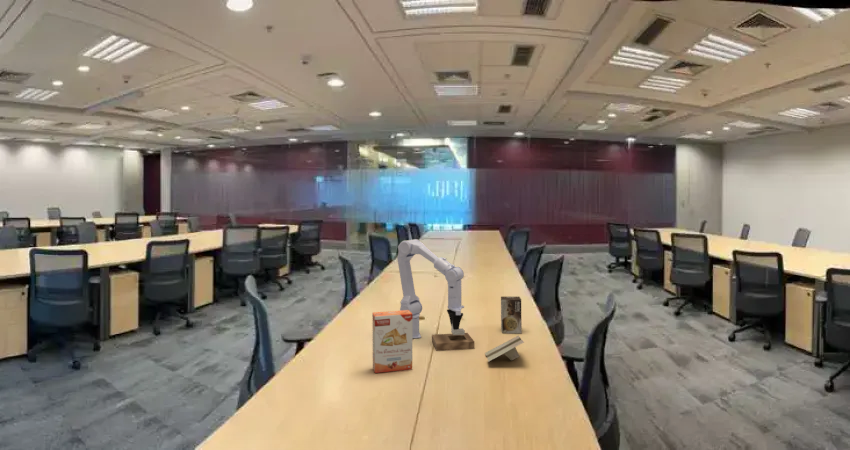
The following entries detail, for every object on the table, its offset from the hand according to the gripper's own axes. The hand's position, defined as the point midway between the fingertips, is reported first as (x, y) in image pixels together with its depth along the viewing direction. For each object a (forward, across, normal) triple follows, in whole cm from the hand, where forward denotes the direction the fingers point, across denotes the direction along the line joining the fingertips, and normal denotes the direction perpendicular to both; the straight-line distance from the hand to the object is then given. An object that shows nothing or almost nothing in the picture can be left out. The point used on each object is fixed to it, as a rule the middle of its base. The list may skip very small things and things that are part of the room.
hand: (454, 327), depth 178 cm
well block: (+7, 0, +1) cm, 7 cm away
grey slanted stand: (+8, -20, -15) cm, 26 cm away
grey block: (+2, 0, -1) cm, 3 cm away
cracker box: (+8, -22, +28) cm, 36 cm away
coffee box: (+8, +14, -30) cm, 34 cm away
